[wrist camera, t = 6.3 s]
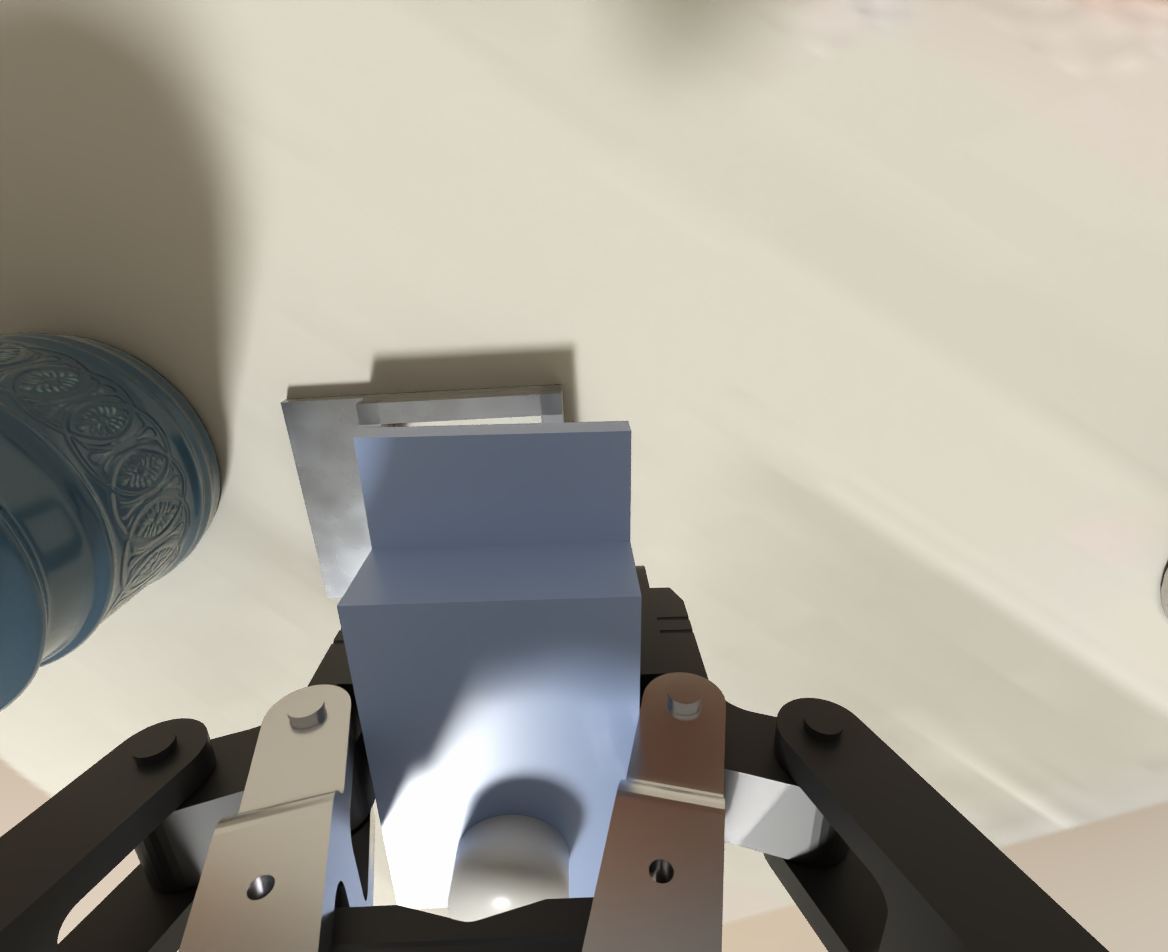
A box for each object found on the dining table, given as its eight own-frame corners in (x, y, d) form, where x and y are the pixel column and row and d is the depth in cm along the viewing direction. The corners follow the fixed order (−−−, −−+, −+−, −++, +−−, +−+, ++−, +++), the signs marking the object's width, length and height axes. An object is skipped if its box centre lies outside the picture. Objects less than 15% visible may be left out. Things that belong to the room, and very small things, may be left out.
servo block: (613, 378, 12) (652, 496, 7) (614, 747, 16) (640, 1020, 10) (410, 382, 12) (282, 507, 7) (457, 753, 16) (400, 1030, 10)
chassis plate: (562, 384, 30) (561, 395, 28) (575, 580, 34) (575, 602, 32) (286, 399, 30) (264, 411, 28) (332, 592, 34) (316, 615, 32)
